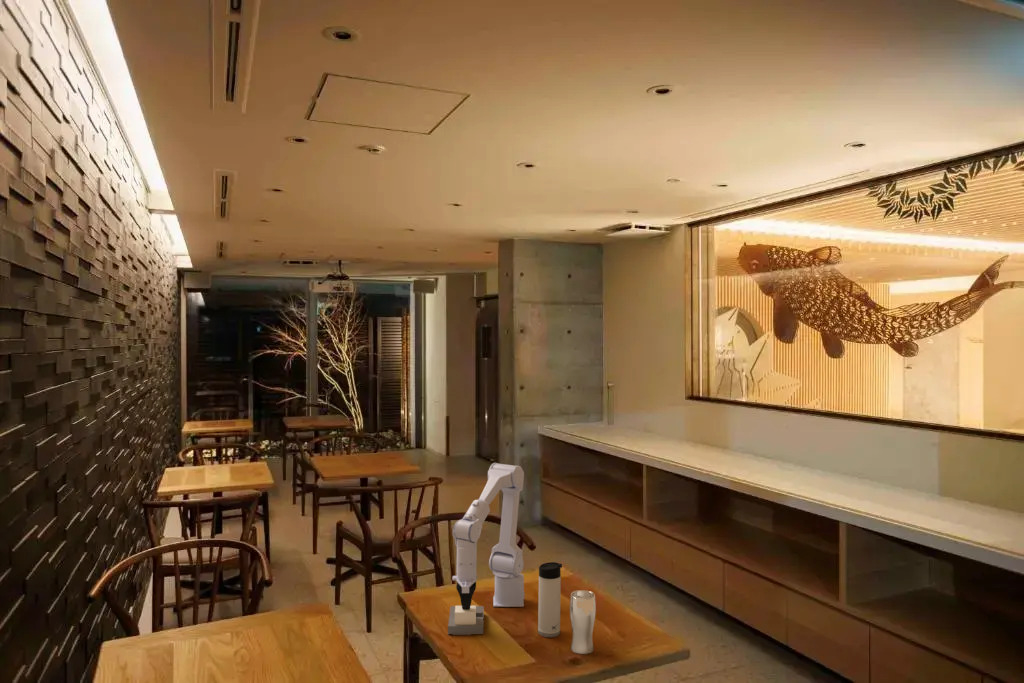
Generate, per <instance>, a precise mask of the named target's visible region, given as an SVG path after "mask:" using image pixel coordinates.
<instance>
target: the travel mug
mask: <svg viewBox="0 0 1024 683" xmlns="http://www.w3.org/2000/svg"><path fill="white" fill-rule="evenodd" d="M562 568H563V564H562V563H560V562H554V561H553V562H552V561H551V562H545V563H542V564H540V566H539V567H538V602H537V603H538V605H537V606H538V612H537V614H538V616H537V617H538V618H537V620H538V623H537V624H538V625H537V627H538V628H537V632H538V634H539V635H540V636H541V637H544V638H556V637H558V636H559V635H560V634H561V593H562V592H561V591H562V590H561V589H562V588H561V583H562V582H561V581H562V579H561V576H562V575H561V574H562V573H561V570H562Z"/></svg>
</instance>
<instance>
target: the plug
mask: <svg viewBox="0 0 1024 683" xmlns="http://www.w3.org/2000/svg"><path fill="white" fill-rule="evenodd" d="M454 606H455V625H470V624H476V617H483V613H476V606H477V605H471V606H470V609H469V610H463V609H462V605H454Z"/></svg>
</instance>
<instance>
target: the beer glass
mask: <svg viewBox="0 0 1024 683" xmlns="http://www.w3.org/2000/svg"><path fill="white" fill-rule="evenodd" d="M596 608H597V607H596V594H595V593H594V592H593V591H589V590H584V589H582V590H581V589H579V590H574V591H572V592H571V593H570V602H569V615H570V616H569V617H570V624H571V632H572V640H571V645H570V650H571V651H572V652H573V653H575V654H579V655H588V653H589V654H591V653H592V652H593V651H594V644H593V632H594V627H595V619H596V612H597V610H596Z"/></svg>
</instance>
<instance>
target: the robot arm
mask: <svg viewBox="0 0 1024 683" xmlns="http://www.w3.org/2000/svg"><path fill="white" fill-rule="evenodd" d="M488 468H489V469H488V470H487V481H486V484H485V486H484V488H483V490H482V492H481V493H480V496H479V498H478V499H474V500H472V503H471V504H470V505H469V507H468V509H467V511H466V512H465V513H464V516H463V517H462V518H461V519H459V520H457V521H456V522H455V523H454V525H453V529H452V537H453V539H454V544H455V546H456V575H452V581H455V582H456V586H455V588H456V591H457V593H458V595H459V600H460V604H461V605H460V606H462V609H463V610H469V609H470V606H472V600H473V596H474V592H475V591H476V589H477V580H478V576H477V551H478V550H477V546H478V545H477V543H478V540H479V539H480V537H481V535H482V534H481V532H482V529H483V524H484V522H485V520H486V518H487V517H488V515H489V513H490V512H491V509H490V505H491V503H492V502H493V500H494V499H495V498H496V496H497V494H498V493H499V492H500V491H501V492H502V493H503V496H502V507H501V519H500V520H501V521H500V527H499V528H500V531H499V539H498V540H499V541H498V543H497V544H495V545H494V546H493V547H492V548H491V554H490V557H489V560H488V567H489V569H490V570H491V571H492V575H494V595H493V596H492V598H493V599H492V600H493V601H492V602H493V603H492V604H493V606H492V607H494V608H500V607H501V608H502V607H503V608H504V607H505V608H511V607H515V608H517V607H519V608H520V607H524V606H525V605H524V604H525V602H524V599H525V595H526V594H525V576H524V574H522V572H523V568H524V564H525V563H524V562H525V561H524V559H523V555H524V554H523V553H524V551H523V550H522V549H521V547H519V546H518V545H517V543H516V540H517V527H518V516H519V505H520V492H521V491H523V489H524V480H525V472H524V470H523V468H522V466H520V465H511V464H504V463H498V462H493V463H491V465H490V466H489V467H488Z"/></svg>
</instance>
